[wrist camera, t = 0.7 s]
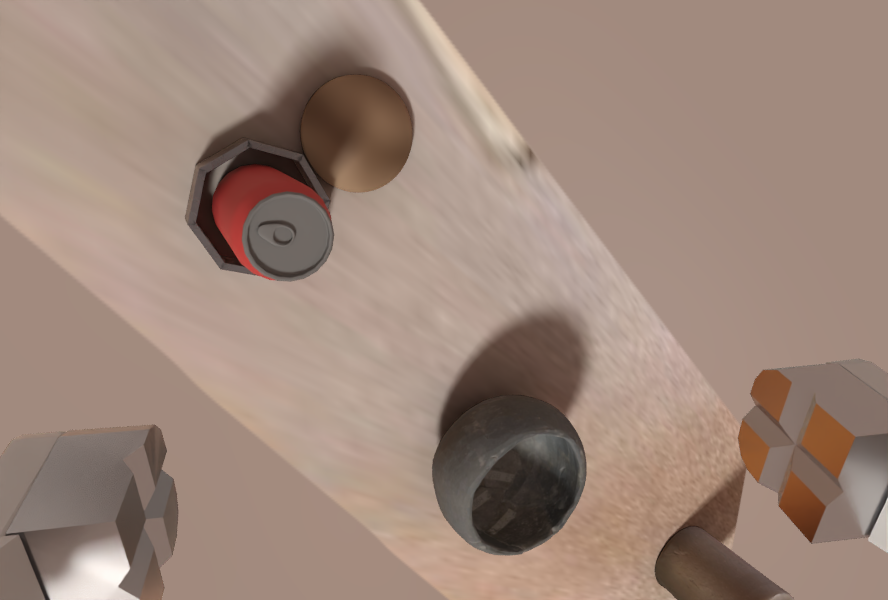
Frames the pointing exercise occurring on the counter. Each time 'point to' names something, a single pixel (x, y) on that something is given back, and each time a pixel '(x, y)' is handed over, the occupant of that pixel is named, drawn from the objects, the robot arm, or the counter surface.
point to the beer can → (273, 222)
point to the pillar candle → (710, 571)
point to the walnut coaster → (356, 133)
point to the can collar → (221, 158)
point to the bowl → (509, 474)
